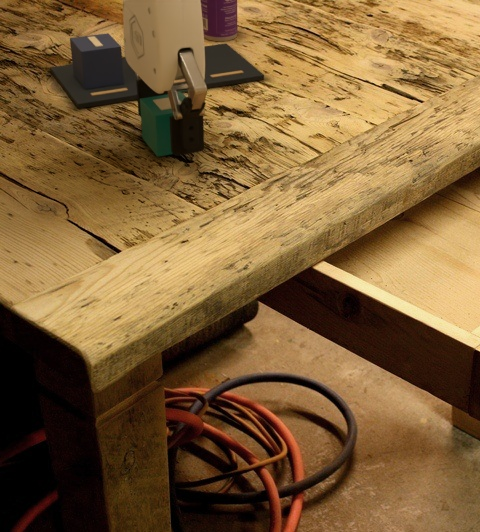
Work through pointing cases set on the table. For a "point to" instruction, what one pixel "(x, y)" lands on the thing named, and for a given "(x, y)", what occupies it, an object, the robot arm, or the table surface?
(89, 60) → the striped navy gift box
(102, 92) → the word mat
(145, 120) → the green cube
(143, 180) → the table surface
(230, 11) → the container
